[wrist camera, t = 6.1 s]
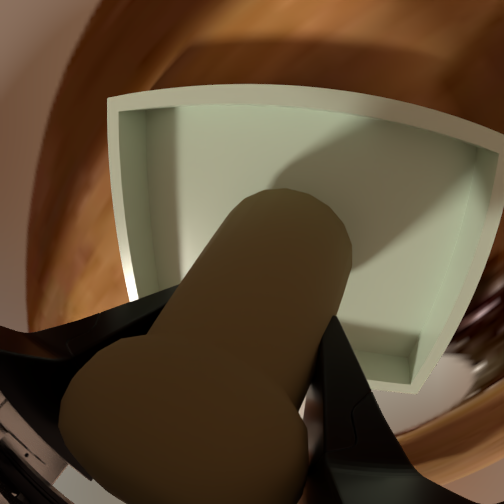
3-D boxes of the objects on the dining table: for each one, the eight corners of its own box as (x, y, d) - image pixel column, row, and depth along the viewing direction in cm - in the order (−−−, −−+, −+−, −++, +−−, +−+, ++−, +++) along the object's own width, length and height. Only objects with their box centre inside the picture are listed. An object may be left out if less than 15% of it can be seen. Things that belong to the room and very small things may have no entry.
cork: (361, 196, 10) (358, 557, 1) (341, 320, 13) (287, 562, 4) (216, 183, 12) (-32, 349, 3) (223, 300, 15) (93, 484, 5)
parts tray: (485, 134, 9) (515, 139, 7) (412, 358, 16) (416, 394, 13) (143, 97, 14) (107, 98, 11) (159, 302, 20) (136, 327, 18)
